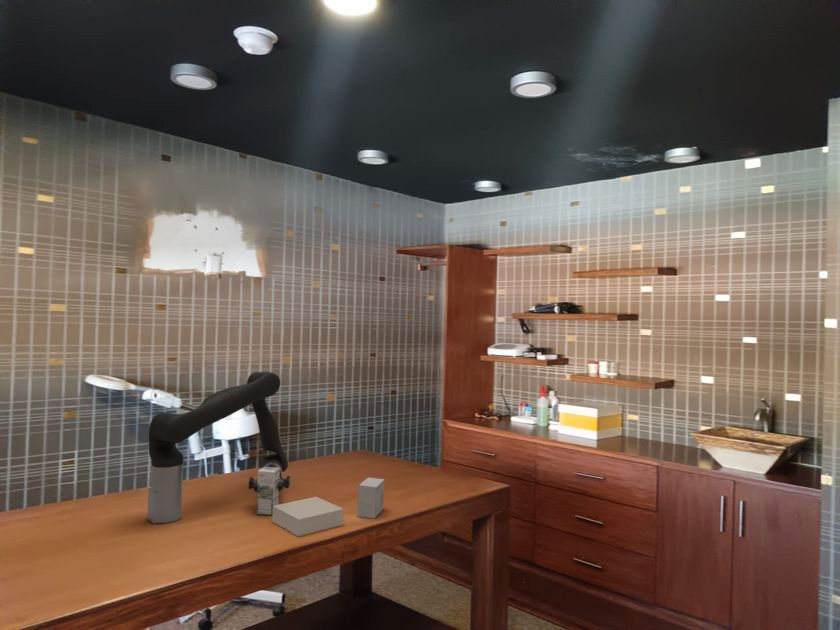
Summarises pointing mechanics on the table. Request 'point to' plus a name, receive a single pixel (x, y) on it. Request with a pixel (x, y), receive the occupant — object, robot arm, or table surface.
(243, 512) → the table surface
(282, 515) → the plinth
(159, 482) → the robot arm
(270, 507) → the syrup box
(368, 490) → the skincare box
